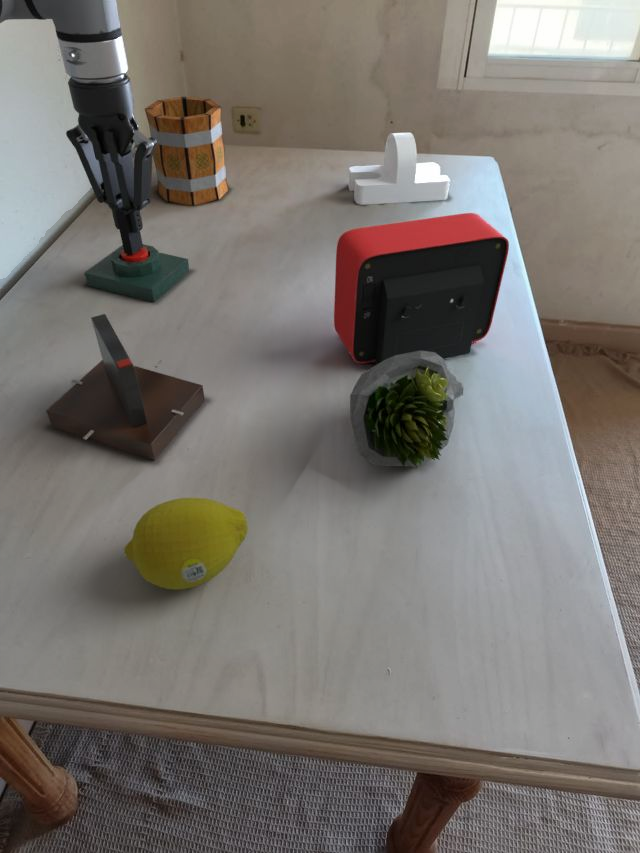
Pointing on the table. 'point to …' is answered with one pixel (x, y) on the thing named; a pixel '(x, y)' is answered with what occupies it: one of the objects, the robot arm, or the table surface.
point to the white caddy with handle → (398, 176)
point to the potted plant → (404, 409)
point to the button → (135, 256)
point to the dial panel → (107, 420)
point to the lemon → (185, 542)
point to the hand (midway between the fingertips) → (133, 250)
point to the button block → (138, 274)
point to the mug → (188, 149)
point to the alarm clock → (417, 286)
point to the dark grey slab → (119, 370)
